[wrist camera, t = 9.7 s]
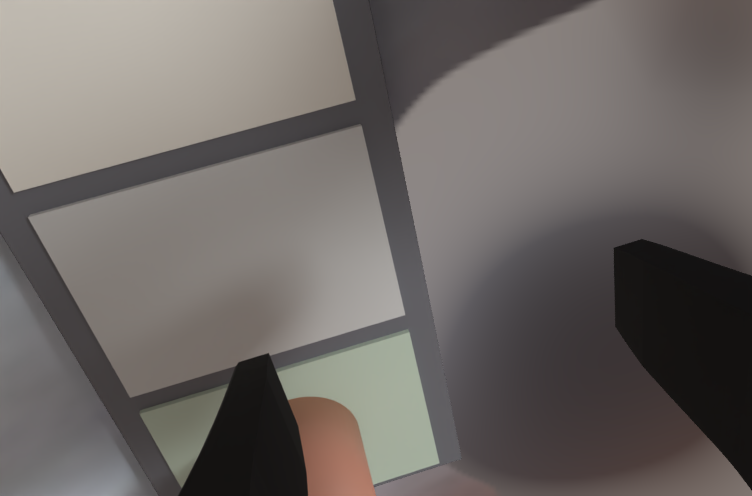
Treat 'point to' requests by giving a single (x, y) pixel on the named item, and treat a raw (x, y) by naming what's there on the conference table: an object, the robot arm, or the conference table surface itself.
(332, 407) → the pawn
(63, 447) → the conference table surface
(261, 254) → the game board
